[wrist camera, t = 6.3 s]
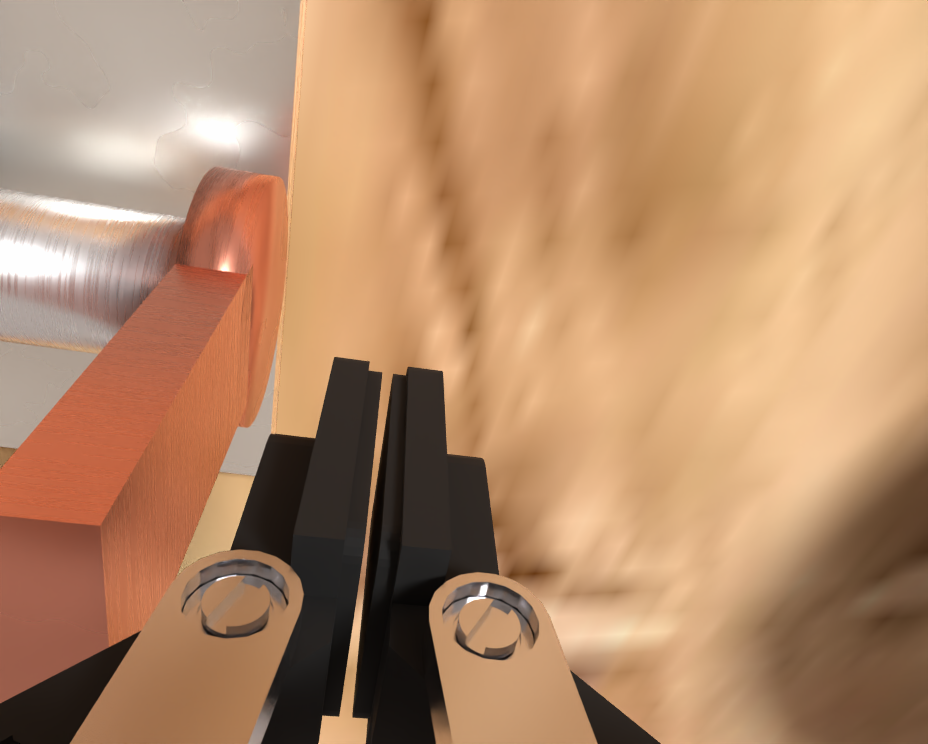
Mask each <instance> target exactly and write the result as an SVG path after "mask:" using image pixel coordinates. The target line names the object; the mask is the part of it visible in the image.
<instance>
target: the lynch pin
mask: <svg viewBox="0 0 928 744" xmlns="http://www.w3.org/2000/svg"><path fill="white" fill-rule="evenodd" d="M287 247H288V204H287V194H286V189H285V185H284V182H283V180H282V178H280V177H277V176H271V175H265V174H259V173H254V172H248V171H242V170H236V169H230V168H224V167H218V166H217V167H213V168H211V169H210V170H209V171H208V172H207V173H206V174H205V175H204V177H203V178H202V180H201V182H200V183H199V185H198V187H197V189H196V192H195V194H194V196H193V199H192V202H191V204H190V207H189V210H188V213H187V217H186V218H184V217H178V216H171V215H165V214H159V213H153V212H146V211H140V210H134V209H127V208H121V207H115V206H109V205H102V204H96V203H90V202H84V201H77V200H71V199H65V198H58V197H52V196H46V195H40V194H33V193H27V192H21V191H14V190H8V189H2V188H0V341H3V342H10V343H18V344H25V345H33V346H41V347H48V348H56V349H63V350H71V351H78V352H86V353H93V354H98V355H97V356H96V358H95V359H94V360H93V361H92V362H91V364H90V365H89V366H88V367H87V368H86V369H85V371H84V372H83V373H82V374H81V375H80V376H79V378H78V379H77V380H76V381H75V382H74V383H73V385H72V386H71V387H70V388H69V389H68V390H67V392H66V393H65V394H64V395H63V396H62V398H61V399H60V400H59V401H58V402H57V403H56V405H55V406H54V407H53V408H52V409H51V410H50V412H49V413H48V414H47V415H46V416H45V417H44V419H43V420H42V421H41V422H40V423H39V425H38V426H37V427H36V428H35V429H34V430H33V432H32V433H31V434H30V435H29V436H28V437H27V439H26V440H25V441H24V442H23V443H22V444H21V446H20V447H19V448H18V449H17V450H16V451H15V453H14V454H13V455H12V456H11V457H10V459H9V460H8V461H7V462H6V463H5V464H4V466H3V467H2V468H1V469H0V703H2V702H4V701H6V700H8V699H10V698H12V697H13V696H15V695H17V694H19V693H21V692H23V691H25V690H27V689H29V688H31V687H33V686H35V685H37V684H39V683H41V682H42V681H44V680H46V679H48V678H50V677H52V676H54V675H56V674H58V673H60V672H62V671H64V670H66V669H68V668H70V667H71V666H73V665H75V664H77V663H79V662H81V661H83V660H85V659H87V658H89V657H91V656H93V655H95V654H97V653H99V652H100V651H102V650H104V649H106V648H108V647H110V646H112V645H114V644H116V643H118V642H120V641H122V640H124V639H126V638H128V637H129V636H131V635H133V634H135V633H137V632H139V631H141V630H142V629H143V627H144V626H145V624H146V623H147V621H148V619H149V618H150V616H151V615H152V613H153V612H154V610H155V608H156V607H157V605H158V604H159V602H160V601H161V599H162V597H163V596H164V594H165V593H166V591H167V589H168V588H169V586H170V585H171V583H172V582H173V581H174V580H175V578H176V576H177V573H178V571H179V568H180V566H181V563H182V561H183V559H184V556H185V554H186V551H187V549H188V546H189V544H190V542H191V539H192V537H193V534H194V532H195V529H196V527H197V524H198V522H199V520H200V517H201V515H202V512H203V510H204V507H205V505H206V502H207V500H208V498H209V495H210V493H211V490H212V488H213V485H214V483H215V481H216V478H217V476H218V473H219V471H220V468H221V466H222V463H223V461H224V459H225V456H226V454H227V451H228V449H229V446H230V444H231V442H232V439H233V437H234V434H235V432H236V429H237V427H245V428H248V427H250V426H251V425H252V423H253V422H254V420H255V418H256V417H257V414H258V412H259V409H260V407H261V404H262V401H263V398H264V394H265V391H266V387H267V384H268V380H269V376H270V371H271V367H272V362H273V358H274V353H275V347H276V342H277V336H278V330H279V324H280V317H281V310H282V302H283V294H284V285H285V275H286V263H287Z"/></svg>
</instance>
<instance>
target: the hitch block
mask: <svg viewBox="0 0 928 744" xmlns="http://www.w3.org/2000/svg"><path fill="white" fill-rule="evenodd" d="M306 3H307V0H0V188H2V189H8V190H14V191H21V192H27V193H33V194H40V195H46V196H52V197H58V198H65V199H71V200H77V201H84V202H90V203H96V204H102V205H109V206H115V207H121V208H127V209H134V210H140V211H146V212H153V213H159V214H165V215H171V216H178V217H184V218H186V217H187V213H188V210H189V207H190V204H191V202H192V199H193V196H194V194H195V192H196V189H197V187H198V185H199V183H200V182H201V180H202V178H203V177H204V175H205V174H206V173H207V172H208V171H209V170H210V169H211V168H213V167H217V166H218V167H224V168H230V169H236V170H242V171H248V172H254V173H259V174H265V175H271V176H277V177H280V178H282V180H283V182H284V185H285V189H286V194H287V204H288V247H287V263H286V275H285V285H284V294H283V302H282V310H281V317H280V324H279V330H278V336H277V342H276V347H275V353H274V358H273V362H272V367H271V371H270V376H269V380H268V384H267V387H266V391H265V394H264V398H263V401H262V404H261V407H260V409H259V412H258V414H257V417H256V418H255V420H254V422H253V423H252V425H251V426H250V427H248V428H245V427H237V429H236V432H235V434H234V437H233V439H232V442H231V444H230V446H229V449H228V451H227V454H226V456H225V459H224V461H223V463H222V466H221V468H220V471H219V472H226V473H235V474H243V475H252V476H255V475H256V472H257V469H258V466H259V463H260V460H261V457H262V454H263V451H264V448H265V445H266V442H267V440H268V437H269V435H270V434H271V433H272V434H276V420H277V406H278V392H279V378H280V364H281V350H282V336H283V323H284V309H285V295H286V281H287V267H288V253H289V239H290V225H291V211H292V198H293V184H294V170H295V156H296V142H297V128H298V114H299V100H300V86H301V73H302V59H303V45H304V31H305V17H306ZM97 355H98V354H93V353H86V352H78V351H71V350H63V349H56V348H48V347H41V346H33V345H25V344H18V343H10V342H3V341H0V447H9V448H17V449H18V448H19V447H20V446H21V444H22V443H23V442H24V441H25V440H26V439H27V437H28V436H29V435H30V434H31V433H32V432H33V430H34V429H35V428H36V427H37V426H38V425H39V423H40V422H41V421H42V420H43V419H44V417H45V416H46V415H47V414H48V413H49V412H50V410H51V409H52V408H53V407H54V406H55V405H56V403H57V402H58V401H59V400H60V399H61V398H62V396H63V395H64V394H65V393H66V392H67V390H68V389H69V388H70V387H71V386H72V385H73V383H74V382H75V381H76V380H77V379H78V378H79V376H80V375H81V374H82V373H83V372H84V371H85V369H86V368H87V367H88V366H89V365H90V364H91V362H92V361H93V360H94V359H95V358H96V356H97Z"/></svg>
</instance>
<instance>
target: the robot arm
mask: <svg viewBox="0 0 928 744" xmlns="http://www.w3.org/2000/svg"><path fill="white" fill-rule="evenodd" d="M368 370H369V361H361V360H354V359H346V358H339V357H334V361H333V365H332V369H331V374H330V378H329V382H328V387H327V391H326V395H325V400H324V404H323V408H322V412H321V417H320V421H319V425H318V430H317V434H316V438H307V437H298V436H289V435H281V434H272V433H271V434H270V435H269V437H268V440H267V442H266V445H265V448H264V451H263V454H262V457H261V460H260V463H259V466H258V469H257V472H256V475H255V478H254V481H253V484H252V487H251V490H250V493H249V496H248V499H247V502H246V505H245V508H244V511H243V514H242V517H241V520H240V523H239V526H238V529H237V532H236V535H235V538H234V541H233V544H232V547H231V550H230V551H223V552H218V553H215V554H212V555H209V556H206V557H204V558H201V559H199V560H197V561H196V562H194V563H193V564H191V565H190V566H188V567H186V568H185V569H184V570H183V571H182V572H181V573H180V574H179V575H178V576H177V577H176V579H175V580H174V581H173V582H172V583H171V585H170V586H169V588H168V589H167V591H166V593H165V594H164V596H163V597H162V599H161V601H160V602H159V604H158V605H157V607H156V608H155V610H154V612H153V613H152V615H151V616H150V618H149V619H148V621H147V623H146V624H145V626H144V627H143V629H142V630H141V631H139V632H137V633H135V634H133V635H131V636H129V637H128V638H126V639H124V640H122V641H120V642H118V643H116V644H114V645H112V646H110V647H108V648H106V649H104V650H102V651H100V652H99V653H97V654H95V655H93V656H91V657H89V658H87V659H85V660H83V661H81V662H79V663H77V664H75V665H73V666H71V667H70V668H68V669H66V670H64V671H62V672H60V673H58V674H56V675H54V676H52V677H50V678H48V679H46V680H44V681H42V682H41V683H39V684H37V685H35V686H33V687H31V688H29V689H27V690H25V691H23V692H21V693H19V694H17V695H15V696H13V697H12V698H10V699H8V700H6V701H4V702H2V703H0V744H318V743H319V736H320V728H321V721H322V715H324V716H339V714H340V707H341V701H342V694H343V687H344V680H345V673H346V667H347V660H348V653H349V646H350V639H351V633H352V626H353V619H354V612H355V606H356V599H357V592H358V585H359V578H360V572H361V565H362V558H363V550H364V543H365V534H366V526H367V516H368V506H369V497H370V487H371V477H372V468H373V458H374V448H375V438H376V429H377V419H378V409H379V400H380V390H381V380H382V372H374V371H368ZM353 718H368V724H367V737H366V744H661V743H659V742H658V741H657V740H656V739H654V738H653V737H652V736H651V735H649V734H648V733H647V732H646V731H645V730H643V729H642V728H641V727H640V726H638V725H637V724H636V723H635V722H633V721H632V720H631V719H630V718H628V717H627V716H626V715H625V714H624V713H622V712H621V711H620V710H619V709H617V708H616V707H615V706H614V705H612V704H611V703H610V702H609V701H607V700H606V699H605V698H604V697H603V696H601V695H600V694H599V693H598V692H596V691H595V690H594V689H593V688H591V687H590V686H589V685H588V684H587V683H585V682H584V681H583V680H582V679H580V678H579V677H578V676H577V675H575V674H574V673H573V672H572V671H570V669H569V666H568V664H567V661H566V658H565V656H564V653H563V650H562V648H561V645H560V642H559V640H558V637H557V634H556V632H555V629H554V626H553V624H552V621H551V618H550V616H549V614H548V613H547V611H546V609H545V607H544V605H543V604H542V602H541V601H540V600H539V599H538V598H537V597H536V596H535V595H534V594H533V593H532V592H531V591H530V590H529V589H527V588H525V587H524V586H522V585H521V584H519V583H517V582H516V581H514V580H512V579H509V578H506V577H503V576H500V575H499V571H498V563H497V555H496V547H495V539H494V531H493V523H492V515H491V507H490V499H489V491H488V483H487V475H486V467H485V462H484V460H483V459H482V458H477V457H468V456H460V455H451V454H447V445H446V424H445V404H444V383H443V371H437V370H429V369H422V368H414V367H408V369H407V373H406V376H405V375H397V374H393V378H392V384H391V391H390V397H389V404H388V411H387V417H386V424H385V431H384V437H383V444H382V451H381V457H380V464H379V471H378V477H377V484H376V491H375V497H374V504H373V511H372V518H371V527H370V536H369V547H368V557H367V568H366V578H365V589H364V599H363V610H362V620H361V630H360V641H359V651H358V662H357V672H356V683H355V693H354V704H353Z"/></svg>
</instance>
